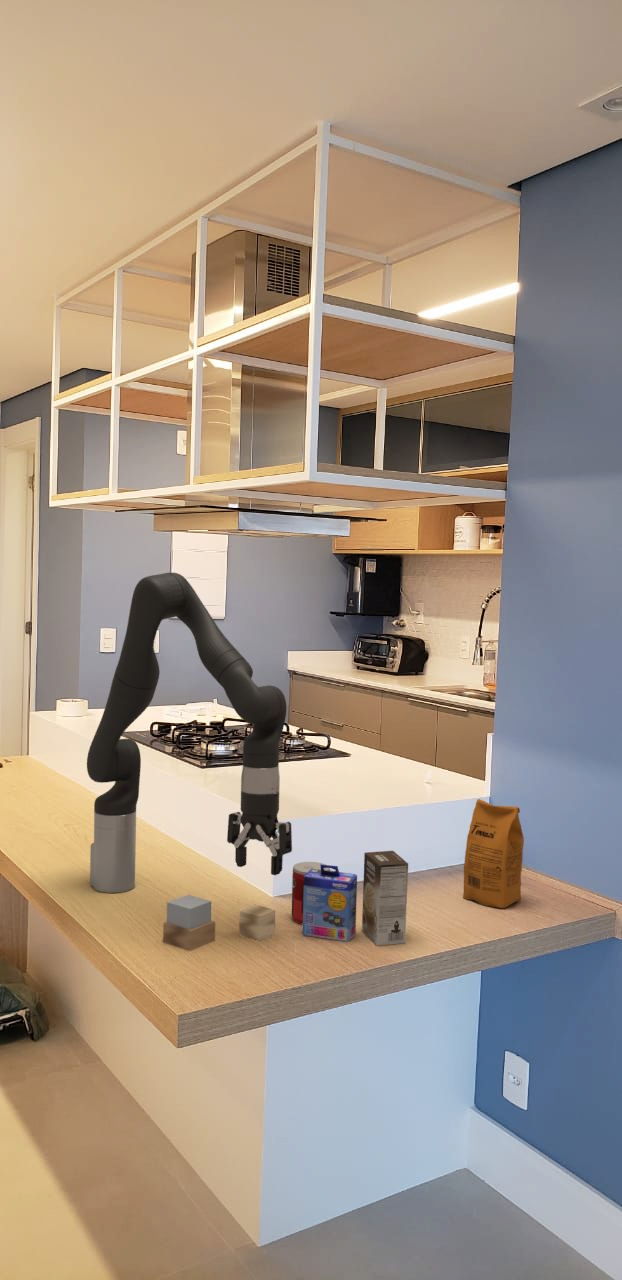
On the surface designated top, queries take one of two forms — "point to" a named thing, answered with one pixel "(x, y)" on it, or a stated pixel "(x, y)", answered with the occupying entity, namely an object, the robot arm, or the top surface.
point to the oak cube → (257, 922)
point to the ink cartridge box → (329, 904)
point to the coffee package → (494, 856)
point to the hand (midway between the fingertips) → (258, 870)
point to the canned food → (300, 887)
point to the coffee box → (384, 897)
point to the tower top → (189, 912)
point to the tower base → (188, 935)
